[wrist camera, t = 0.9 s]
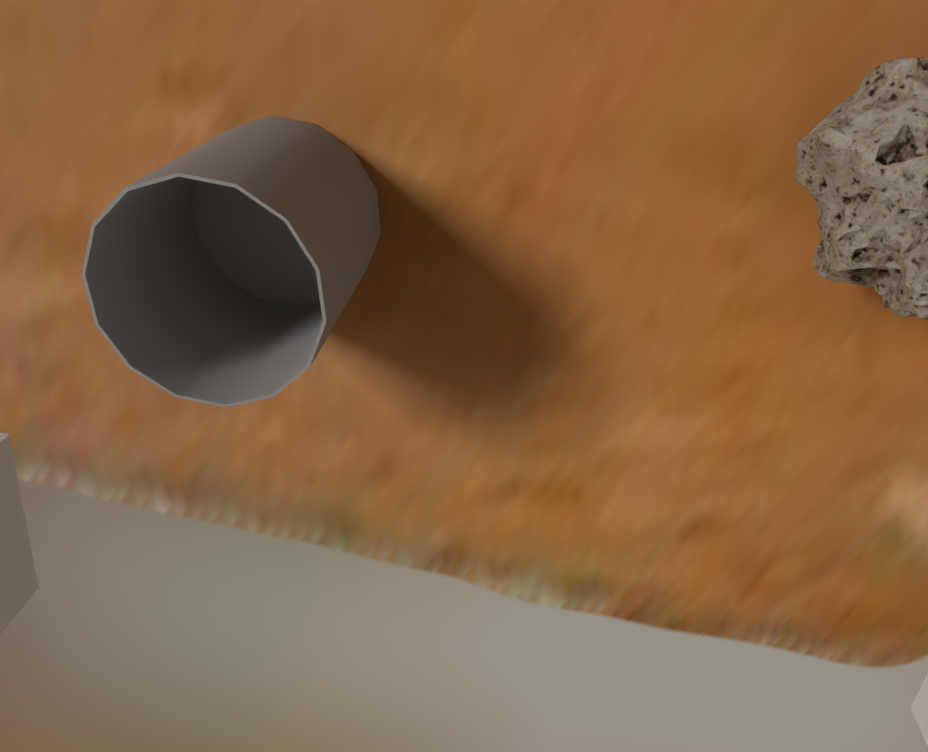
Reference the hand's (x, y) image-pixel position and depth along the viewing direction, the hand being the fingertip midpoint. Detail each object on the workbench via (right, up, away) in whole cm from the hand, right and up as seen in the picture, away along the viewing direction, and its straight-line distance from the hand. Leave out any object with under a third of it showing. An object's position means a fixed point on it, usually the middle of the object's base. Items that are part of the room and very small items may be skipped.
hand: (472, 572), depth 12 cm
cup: (-8, +10, +26) cm, 29 cm away
